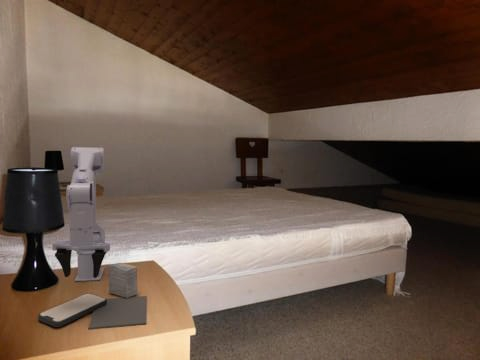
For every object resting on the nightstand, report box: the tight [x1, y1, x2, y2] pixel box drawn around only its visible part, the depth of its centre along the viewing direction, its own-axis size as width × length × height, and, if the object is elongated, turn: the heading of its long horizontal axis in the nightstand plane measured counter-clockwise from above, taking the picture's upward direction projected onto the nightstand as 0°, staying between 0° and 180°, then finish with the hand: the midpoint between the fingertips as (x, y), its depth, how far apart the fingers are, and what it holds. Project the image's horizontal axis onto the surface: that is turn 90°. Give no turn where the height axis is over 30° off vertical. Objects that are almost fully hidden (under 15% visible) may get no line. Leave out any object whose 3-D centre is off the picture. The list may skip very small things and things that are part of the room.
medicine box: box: [108, 262, 138, 298], centre depth 108 cm, size 8×4×9 cm, turn 59°
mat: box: [87, 295, 148, 330], centre depth 98 cm, size 16×14×1 cm
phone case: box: [37, 292, 108, 328], centre depth 97 cm, size 9×2×16 cm
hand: (81, 276), depth 97 cm, fingers open, 7 cm apart
